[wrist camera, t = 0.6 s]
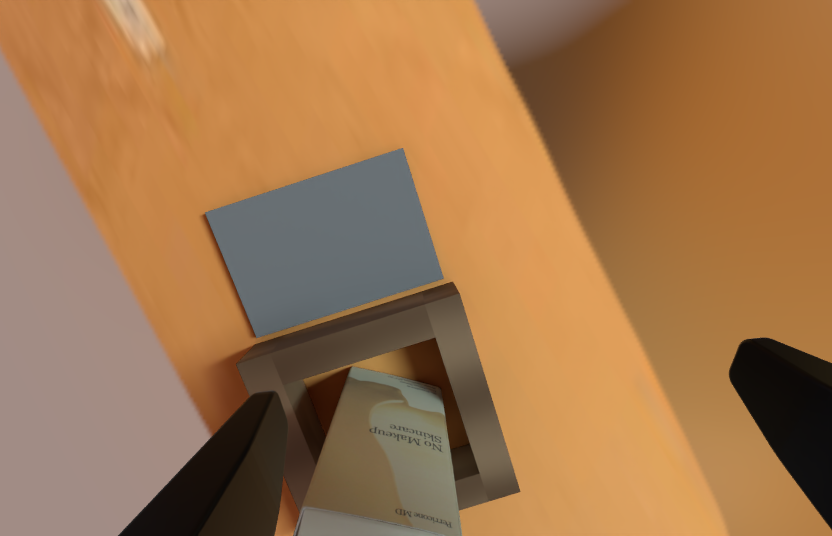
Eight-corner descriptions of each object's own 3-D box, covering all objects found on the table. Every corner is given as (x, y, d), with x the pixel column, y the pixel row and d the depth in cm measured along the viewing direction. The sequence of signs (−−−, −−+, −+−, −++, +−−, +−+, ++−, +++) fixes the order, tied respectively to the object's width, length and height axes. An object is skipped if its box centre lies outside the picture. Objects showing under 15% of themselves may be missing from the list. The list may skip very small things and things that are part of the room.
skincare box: (442, 385, 27) (475, 542, 15) (425, 444, 28) (443, 639, 16) (345, 362, 26) (298, 506, 14) (330, 423, 27) (273, 608, 15)
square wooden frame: (507, 460, 28) (520, 491, 25) (325, 515, 28) (317, 553, 25) (452, 281, 26) (459, 293, 23) (254, 344, 26) (235, 364, 23)
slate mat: (442, 276, 25) (443, 278, 25) (259, 335, 26) (256, 338, 25) (402, 148, 24) (402, 148, 24) (208, 212, 24) (204, 212, 24)
